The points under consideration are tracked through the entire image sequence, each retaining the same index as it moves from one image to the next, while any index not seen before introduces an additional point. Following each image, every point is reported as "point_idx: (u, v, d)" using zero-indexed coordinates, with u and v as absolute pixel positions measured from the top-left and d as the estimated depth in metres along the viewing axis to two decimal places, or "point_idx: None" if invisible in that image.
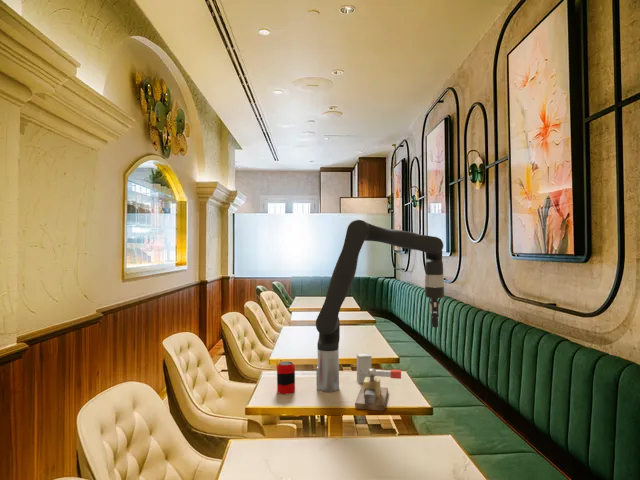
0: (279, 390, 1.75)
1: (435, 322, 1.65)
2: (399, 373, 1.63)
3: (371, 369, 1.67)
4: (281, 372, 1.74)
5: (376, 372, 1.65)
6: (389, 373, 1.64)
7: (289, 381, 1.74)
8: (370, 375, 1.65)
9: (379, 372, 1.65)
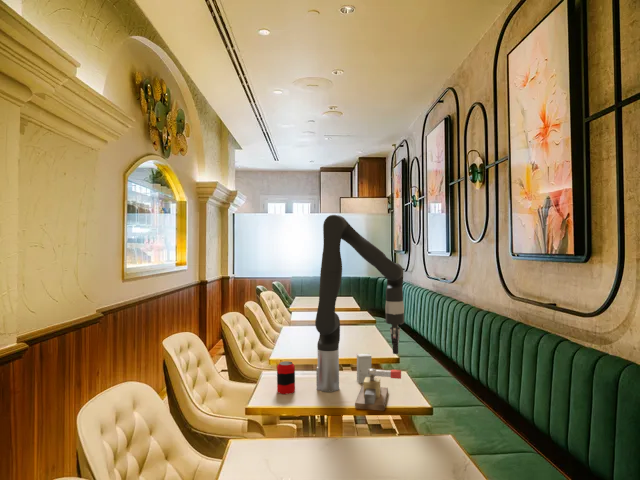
0: (279, 390, 1.75)
1: (395, 349, 1.70)
2: (399, 373, 1.63)
3: (371, 369, 1.67)
4: (281, 372, 1.74)
5: (376, 372, 1.65)
6: (389, 373, 1.64)
7: (289, 381, 1.74)
8: (370, 375, 1.65)
9: (379, 372, 1.65)
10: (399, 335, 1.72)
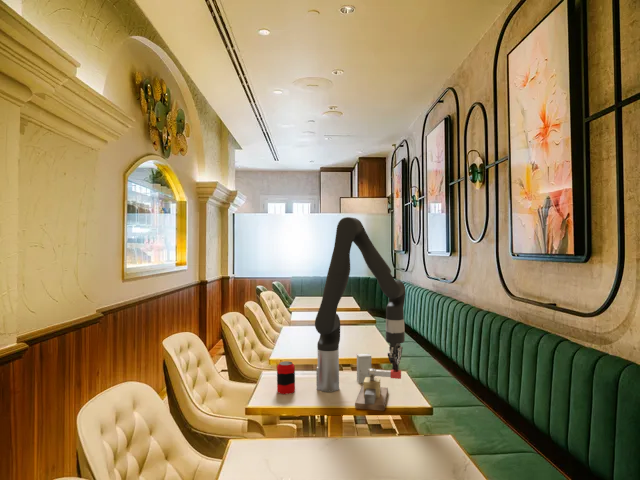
0: (279, 390, 1.75)
1: (394, 368, 1.66)
2: (399, 373, 1.63)
3: (371, 369, 1.67)
4: (281, 372, 1.74)
5: (376, 372, 1.65)
6: (389, 373, 1.64)
7: (289, 381, 1.74)
8: (370, 375, 1.65)
9: (379, 372, 1.65)
10: (399, 354, 1.67)
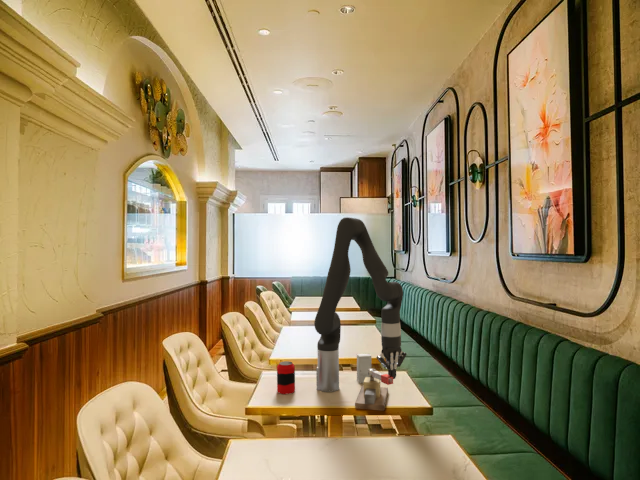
0: (279, 390, 1.75)
1: (389, 373, 1.60)
2: (386, 379, 1.57)
3: (371, 369, 1.67)
4: (281, 372, 1.74)
5: (372, 373, 1.64)
6: (381, 376, 1.60)
7: (289, 381, 1.74)
8: (368, 374, 1.66)
9: (374, 373, 1.64)
10: (395, 360, 1.59)
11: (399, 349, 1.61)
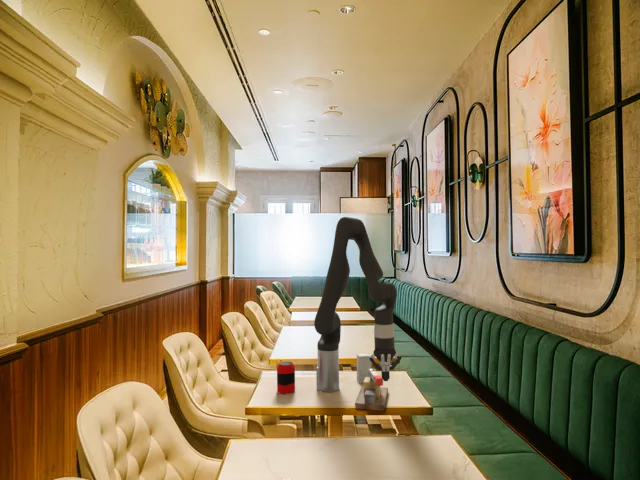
0: (279, 390, 1.75)
1: None
2: (375, 379, 1.56)
3: (371, 369, 1.67)
4: (281, 372, 1.74)
5: (370, 373, 1.65)
6: (374, 377, 1.60)
7: (289, 381, 1.74)
8: (368, 374, 1.67)
9: (371, 373, 1.63)
10: (387, 362, 1.57)
11: (393, 351, 1.57)
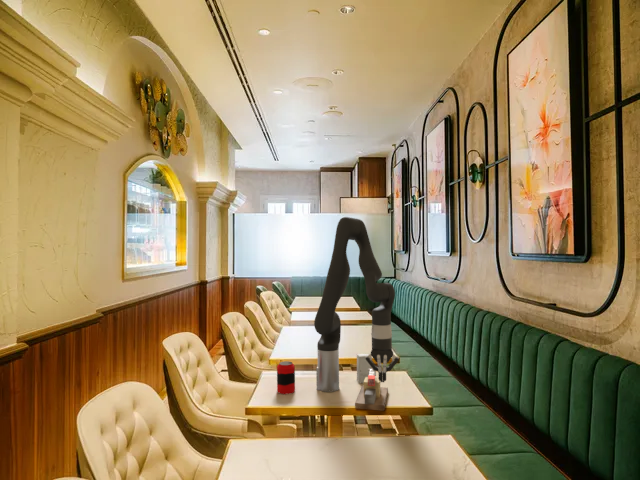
0: (279, 390, 1.75)
1: None
2: None
3: (372, 369, 1.67)
4: (281, 372, 1.74)
5: (369, 372, 1.65)
6: None
7: (289, 381, 1.74)
8: None
9: (369, 373, 1.64)
10: (383, 363, 1.55)
11: (389, 353, 1.55)
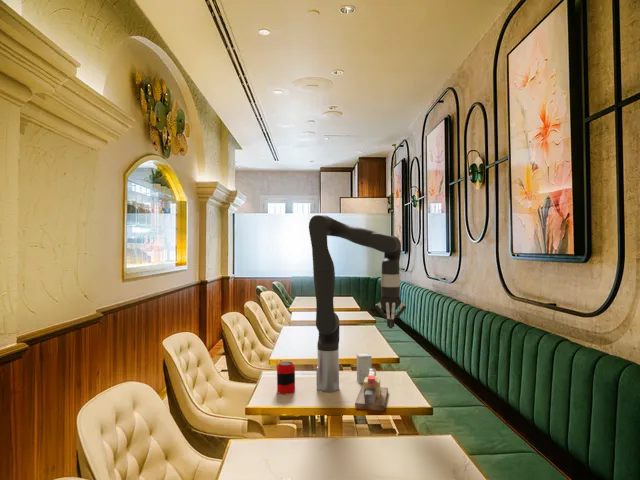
0: (279, 390, 1.75)
1: (387, 322, 1.68)
2: None
3: (372, 369, 1.67)
4: (281, 372, 1.74)
5: (369, 372, 1.65)
6: None
7: (289, 381, 1.74)
8: None
9: (369, 373, 1.64)
10: None
11: (398, 301, 1.66)
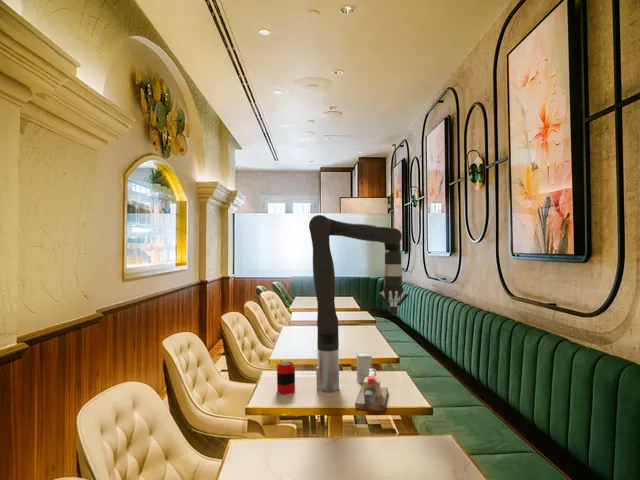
0: (279, 390, 1.75)
1: (390, 310, 1.78)
2: None
3: (372, 369, 1.67)
4: (281, 372, 1.74)
5: (369, 372, 1.65)
6: None
7: (289, 381, 1.74)
8: None
9: (369, 373, 1.64)
10: (394, 298, 1.76)
11: (400, 289, 1.76)
